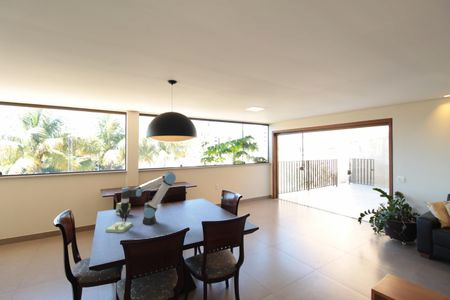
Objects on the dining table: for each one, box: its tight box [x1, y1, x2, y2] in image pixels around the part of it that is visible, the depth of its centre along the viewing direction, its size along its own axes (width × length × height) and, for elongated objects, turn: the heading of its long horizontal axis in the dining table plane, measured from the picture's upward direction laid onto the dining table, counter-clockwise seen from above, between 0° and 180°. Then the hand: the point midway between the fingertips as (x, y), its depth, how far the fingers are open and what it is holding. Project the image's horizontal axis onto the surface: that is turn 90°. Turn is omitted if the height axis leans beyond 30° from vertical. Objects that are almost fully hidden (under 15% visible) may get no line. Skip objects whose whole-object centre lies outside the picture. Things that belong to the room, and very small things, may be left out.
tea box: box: [115, 201, 131, 216], centre depth 269 cm, size 15×10×15 cm
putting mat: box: [105, 221, 134, 234], centre depth 222 cm, size 17×22×3 cm
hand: (124, 224), depth 222 cm, fingers closed
